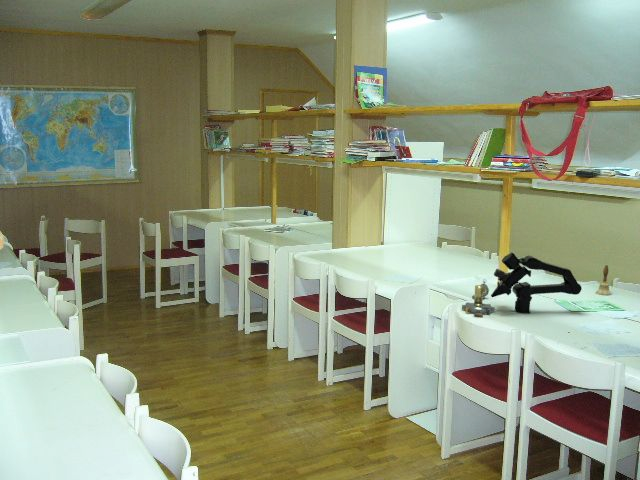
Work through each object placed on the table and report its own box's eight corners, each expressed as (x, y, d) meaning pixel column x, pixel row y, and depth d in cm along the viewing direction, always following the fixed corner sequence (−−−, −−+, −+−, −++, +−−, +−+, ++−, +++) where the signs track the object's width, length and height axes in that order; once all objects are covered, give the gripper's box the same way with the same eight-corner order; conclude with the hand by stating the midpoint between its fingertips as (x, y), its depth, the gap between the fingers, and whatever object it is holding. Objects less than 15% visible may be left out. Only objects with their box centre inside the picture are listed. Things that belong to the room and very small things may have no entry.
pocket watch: (470, 298, 354) (471, 280, 352) (474, 295, 361) (475, 277, 360) (486, 300, 350) (487, 282, 349) (489, 297, 358) (490, 279, 356)
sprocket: (494, 307, 336) (495, 285, 334) (495, 315, 320) (496, 293, 319) (461, 305, 339) (463, 283, 337) (461, 313, 324) (462, 291, 322)
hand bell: (608, 292, 374) (611, 264, 372) (613, 295, 366) (616, 267, 364) (593, 291, 375) (595, 263, 373) (598, 295, 367) (600, 266, 364)
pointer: (482, 316, 321) (482, 313, 321) (482, 317, 318) (482, 315, 318) (474, 315, 322) (474, 312, 322) (474, 317, 319) (474, 314, 319)
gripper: (503, 260, 337) (479, 280, 341) (505, 267, 319) (480, 288, 323) (518, 276, 337) (495, 296, 341) (521, 284, 319) (496, 305, 323)
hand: (491, 296), depth 332 cm, fingers closed
